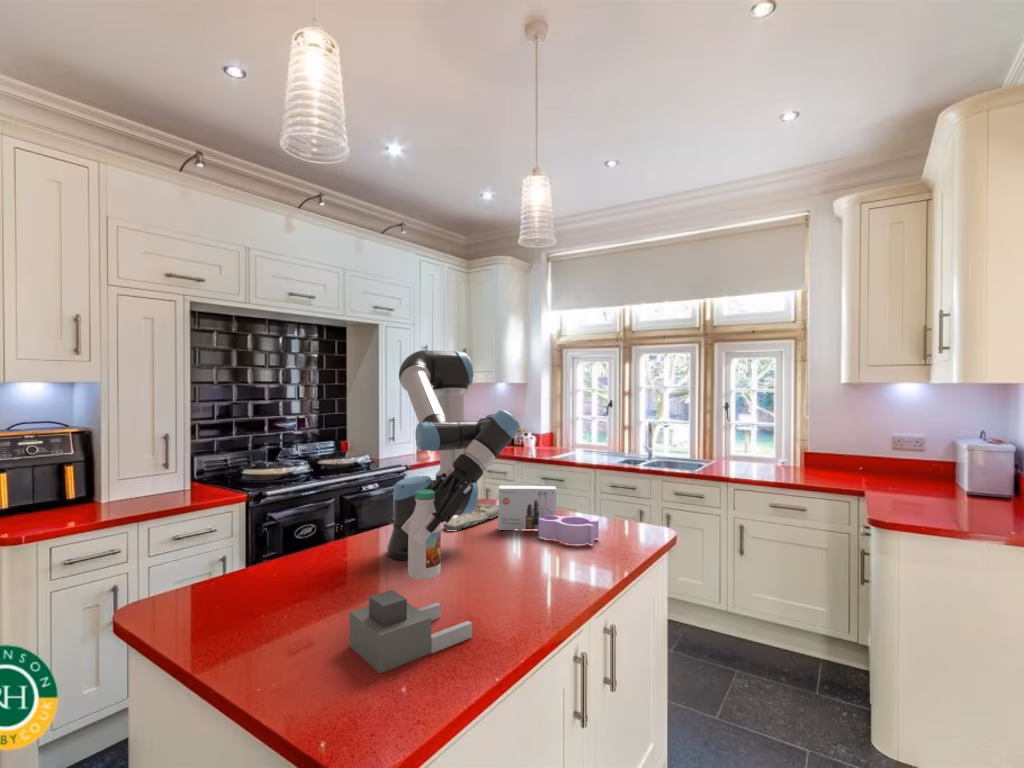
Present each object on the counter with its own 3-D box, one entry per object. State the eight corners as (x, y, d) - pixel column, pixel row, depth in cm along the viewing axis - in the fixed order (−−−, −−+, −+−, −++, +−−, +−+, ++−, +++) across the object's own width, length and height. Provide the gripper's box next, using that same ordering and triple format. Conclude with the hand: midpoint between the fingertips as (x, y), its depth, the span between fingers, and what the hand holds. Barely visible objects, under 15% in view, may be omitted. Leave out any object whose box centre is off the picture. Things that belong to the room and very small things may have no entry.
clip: (533, 541, 175) (533, 520, 175) (546, 531, 186) (546, 512, 186) (591, 549, 167) (591, 527, 167) (600, 538, 178) (600, 518, 178)
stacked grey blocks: (349, 646, 104) (349, 591, 104) (436, 615, 118) (436, 567, 118) (380, 674, 94) (380, 614, 94) (472, 637, 108) (472, 584, 108)
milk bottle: (413, 582, 118) (413, 496, 117) (404, 571, 125) (404, 489, 124) (445, 577, 121) (445, 492, 121) (434, 565, 128) (435, 486, 128)
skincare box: (498, 532, 185) (498, 488, 185) (498, 527, 191) (498, 485, 191) (556, 532, 185) (556, 488, 185) (555, 528, 191) (555, 485, 191)
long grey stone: (436, 533, 189) (457, 539, 183) (436, 519, 188) (457, 525, 183) (491, 509, 218) (510, 513, 213) (491, 496, 218) (511, 501, 212)
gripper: (502, 479, 122) (438, 559, 114) (464, 465, 139) (406, 533, 131) (483, 459, 119) (416, 539, 111) (446, 447, 136) (386, 516, 128)
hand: (411, 536), depth 121 cm, fingers closed on milk bottle, 7 cm apart
